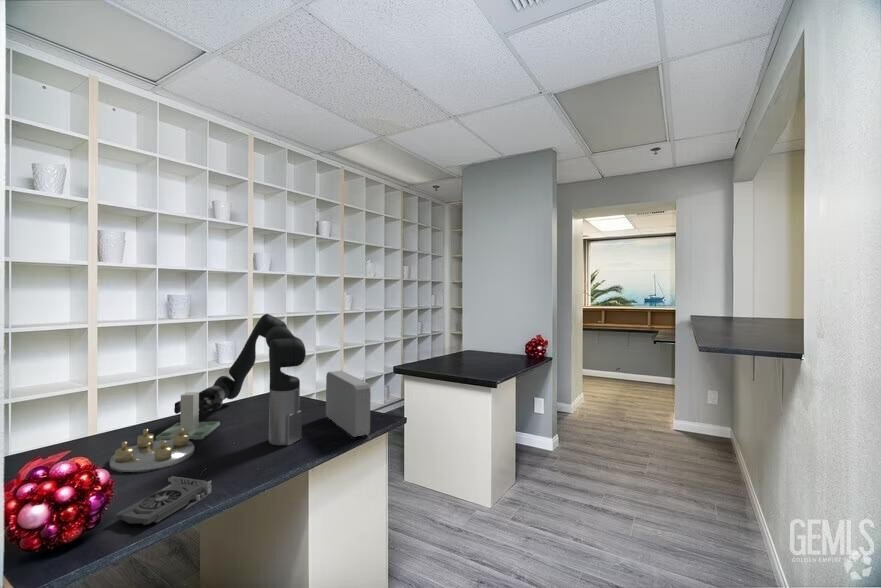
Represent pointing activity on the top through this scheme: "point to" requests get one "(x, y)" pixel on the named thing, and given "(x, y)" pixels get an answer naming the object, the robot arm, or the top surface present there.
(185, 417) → the plate with upright post
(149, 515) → the graphics card
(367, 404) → the gray rounded box
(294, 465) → the top surface
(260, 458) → the top surface
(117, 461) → the chassis
